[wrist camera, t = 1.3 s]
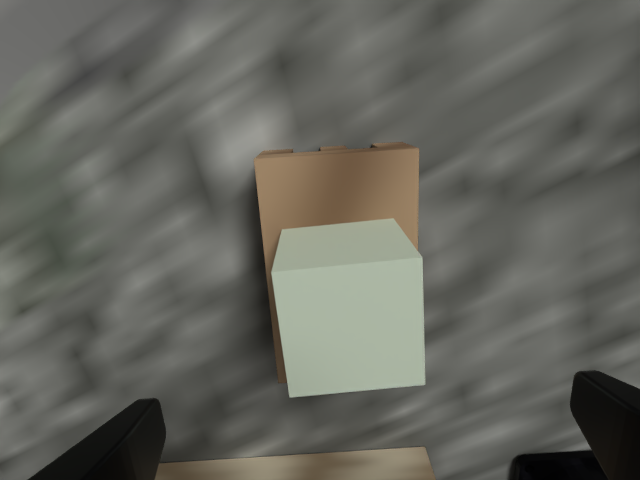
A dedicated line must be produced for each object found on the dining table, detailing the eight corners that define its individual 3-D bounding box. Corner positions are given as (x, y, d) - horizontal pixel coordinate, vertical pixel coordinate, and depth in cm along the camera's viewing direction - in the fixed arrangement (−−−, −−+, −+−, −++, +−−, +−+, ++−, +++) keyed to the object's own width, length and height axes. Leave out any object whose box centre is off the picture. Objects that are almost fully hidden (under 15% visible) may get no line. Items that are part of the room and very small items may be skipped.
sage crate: (393, 218, 15) (422, 257, 11) (397, 317, 16) (425, 385, 12) (281, 229, 15) (271, 272, 11) (294, 328, 16) (289, 397, 12)
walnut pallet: (400, 141, 17) (419, 148, 14) (400, 335, 19) (415, 374, 17) (263, 150, 17) (253, 159, 14) (283, 343, 19) (278, 383, 17)
